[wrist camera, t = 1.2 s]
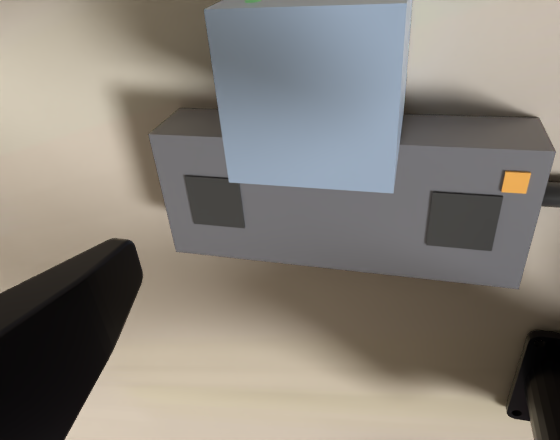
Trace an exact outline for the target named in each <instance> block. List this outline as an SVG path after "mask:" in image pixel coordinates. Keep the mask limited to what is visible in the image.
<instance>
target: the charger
mask: <svg viewBox="0 0 560 440" xmlns="http://www.w3.org/2000/svg"><path fill="white" fill-rule="evenodd" d="M411 13H412V0H222V1H220V2H218V3H216V4H214V5H212V6H210V7H208V8H205V9H204V14H205V21H206V28H207V35H208V42H209V49H210V56H211V63H212V69H213V76H214V83H215V90H216V97H217V104H218V111H219V118H220V124H221V131H222V138H223V145H224V152H225V159H226V166H227V173H228V180H229V182H230V183H245V184H260V185H275V186H290V187H305V188H319V189H334V190H349V191H364V192H379V193H394V185H395V177H396V169H397V161H398V153H399V145H400V137H401V129H402V122H403V114H404V105H405V92H406V78H407V65H408V52H409V39H410V26H411Z"/></svg>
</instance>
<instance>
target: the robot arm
mask: <svg viewBox="0 0 560 440" xmlns="http://www.w3.org/2000/svg"><path fill="white" fill-rule="evenodd" d="M142 278H143V272H142V268H141V265H140V261H139V258H138V254H137V251H136V247H135V245H134V243H133V242H132V241H130V240H126V239H117V238H112V239H109V240H107V241H105V242H103V243H101V244H99V245H97V246H95V247H93V248H91V249H89V250H87V251H85V252H83V253H81V254H79V255H77V256H75V257H73V258H71V259H69V260H67V261H65V262H63V263H61V264H59V265H57V266H55V267H53V268H51V269H49V270H47V271H45V272H42V273H40V274H38V275H36V276H34V277H32V278H30V279H28V280H26V281H24V282H22V283H20V284H18V285H16V286H14V287H12V288H10V289H8V290H6V291H4V292H2V293H0V440H65V438H66V436H67V434H68V433H69V431H70V429H71V427H72V425H73V423H74V422H75V420H76V418H77V416H78V414H79V412H80V411H81V409H82V407H83V405H84V403H85V401H86V400H87V398H88V396H89V394H90V392H91V390H92V389H93V387H94V385H95V383H96V381H97V380H98V378H99V376H100V374H101V372H102V370H103V369H104V367H105V365H106V363H107V361H108V359H109V357H110V355H111V353H112V352H113V350H114V347H115V345H116V343H117V341H118V339H119V336H120V334H121V332H122V329H123V327H124V324H125V322H126V320H127V317H128V315H129V312H130V310H131V308H132V305H133V303H134V300H135V298H136V296H137V293H138V291H139V288H140V286H141V283H142ZM537 340H542V341H537ZM506 410H507V414H508V416H510V417H511V418H514V419H520V420H526V421H531V427H532V432H533V437H534V440H560V333H556V332H548V331H532V332H530V333H529V334H528V336H527V338H526V341H525V345H524V348H523V351H522V354H521V358H520V361H519V364H518V367H517V371H516V374H515V377H514V381H513V384H512V387H511V390H510V394H509V397H508V400H507V404H506Z"/></svg>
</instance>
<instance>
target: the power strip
mask: <svg viewBox="0 0 560 440" xmlns="http://www.w3.org/2000/svg"><path fill="white" fill-rule="evenodd" d="M148 135H149V139H150V143H151V147H152V151H153V156H154V160H155V164H156V168H157V173H158V177H159V181H160V185H161V190H162V194H163V198H164V202H165V207H166V211H167V215H168V219H169V224H170V228H171V232H172V236H173V241H174V245H175V249H176V252H184V253H193V254H202V255H211V256H220V257H229V258H238V259H247V260H257V261H266V262H275V263H284V264H293V265H302V266H311V267H321V268H330V269H339V270H348V271H357V272H366V273H375V274H384V275H394V276H403V277H412V278H421V279H430V280H439V281H448V282H457V283H467V284H476V285H485V286H494V287H503V288H512V289H519V286H520V282H521V279H522V275H523V271H524V268H525V264H526V260H527V256H528V253H529V249H530V245H531V242H532V238H533V234H534V231H535V227H536V223H537V219H538V216H539V212H540V208H541V206H545V207H559V208H560V182H548V179H549V175H550V171H551V168H552V164H553V160H554V157H555V153H556V151H555V149H554V147H553V145H552V143H551V141H550V139H549V137H548V135H547V133H546V131H545V128H544V126H543V124H542V122H541V120H540V118H528V117H490V116H452V115H414V114H403V122H402V129H401V137H400V145H399V153H398V161H397V169H396V177H395V185H394V193H379V192H364V191H349V190H334V189H319V188H305V187H290V186H275V185H260V184H245V183H230V182H229V180H228V173H227V166H226V159H225V152H224V145H223V138H222V131H221V124H220V118H219V111H218V109H187V108H179V109H178V110H177V111H176V112H175V113H173V114H172V115H171V116H170V117H169V118H167V119H166V120H165V121H164V122H163V123H161V124H160V125H159V126H158V127H157V128H155V129H154V130H153V131H152V132H151V133H149V134H148Z"/></svg>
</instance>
